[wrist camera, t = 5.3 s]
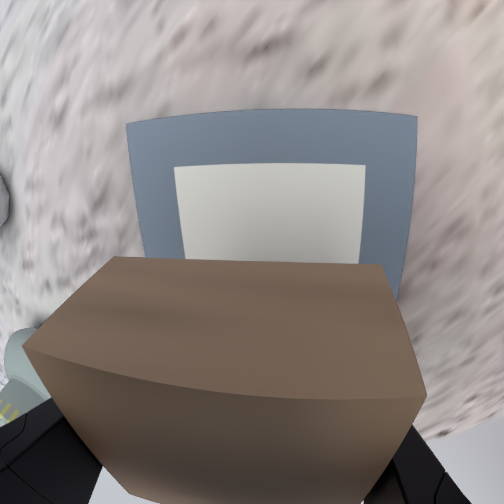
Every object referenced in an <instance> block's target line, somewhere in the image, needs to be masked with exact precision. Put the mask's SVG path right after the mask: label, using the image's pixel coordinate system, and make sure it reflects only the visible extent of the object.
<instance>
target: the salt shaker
mask: <svg viewBox="0 0 504 504" xmlns="http://www.w3.org/2000/svg"><path fill="white" fill-rule="evenodd" d="M9 199H10V195H9V193H8V191H7V188H6V186H5V184H4V182H3V179H2V177H1V175H0V227H1V226H2V224H3V223H4V222H5V220H6V219H7V217H8V214H9Z"/></svg>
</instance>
